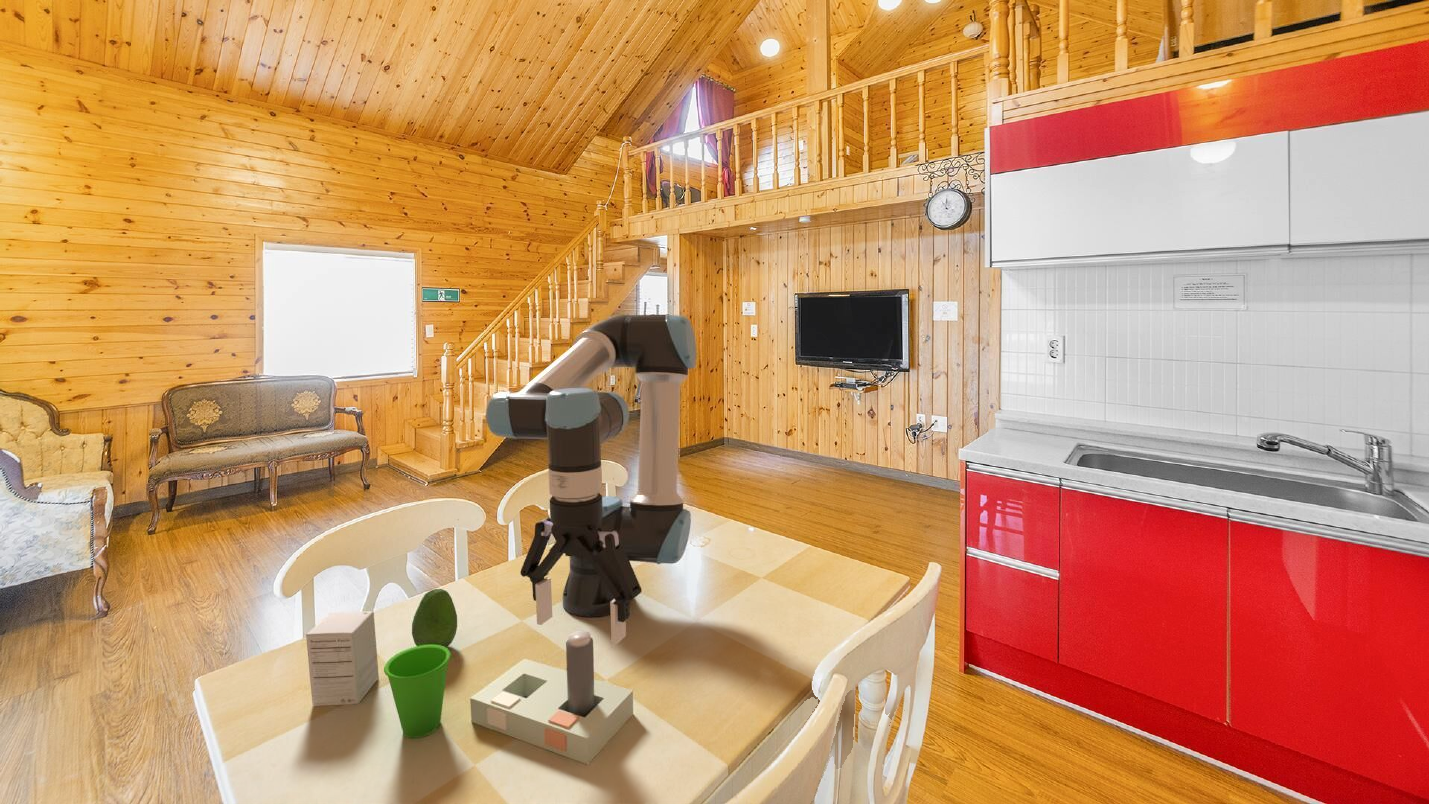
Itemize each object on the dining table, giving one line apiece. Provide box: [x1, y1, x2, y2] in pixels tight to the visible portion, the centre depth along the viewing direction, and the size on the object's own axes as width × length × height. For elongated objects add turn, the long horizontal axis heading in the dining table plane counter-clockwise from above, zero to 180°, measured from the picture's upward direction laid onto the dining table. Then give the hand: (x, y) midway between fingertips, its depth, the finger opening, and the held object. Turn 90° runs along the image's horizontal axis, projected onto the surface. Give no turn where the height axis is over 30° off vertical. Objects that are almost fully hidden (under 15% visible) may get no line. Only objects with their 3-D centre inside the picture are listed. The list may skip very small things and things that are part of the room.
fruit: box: [411, 588, 458, 649], centre depth 110 cm, size 8×8×12 cm
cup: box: [383, 645, 452, 739], centre depth 89 cm, size 9×9×11 cm
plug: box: [565, 630, 595, 717], centre depth 89 cm, size 4×4×15 cm
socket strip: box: [469, 658, 634, 765], centre depth 91 cm, size 22×12×4 cm, turn 66°
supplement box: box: [305, 610, 380, 707], centre depth 97 cm, size 7×7×13 cm
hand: (580, 630), depth 88 cm, fingers open, 13 cm apart
